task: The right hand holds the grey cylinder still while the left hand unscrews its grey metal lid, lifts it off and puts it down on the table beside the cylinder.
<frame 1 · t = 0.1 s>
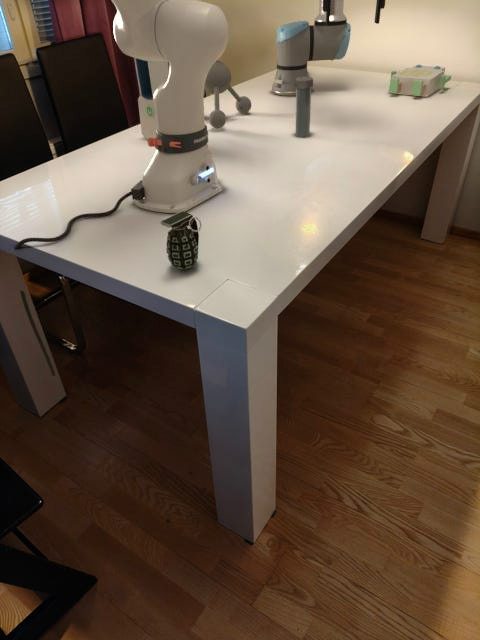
right hand: (352, 24, 135), 28 cm above the table, tool pointing down, fingers open, 13 cm apart
lid: (304, 79, 140), point 15 cm above the table, screwed on, not yet turned
decorative block: (416, 90, 184), on the table
grey cylinder: (302, 135, 149), on the table
grenade: (185, 266, 91), on the table
molecular model: (224, 118, 167), on the table
electronic device: (163, 138, 153), on the table
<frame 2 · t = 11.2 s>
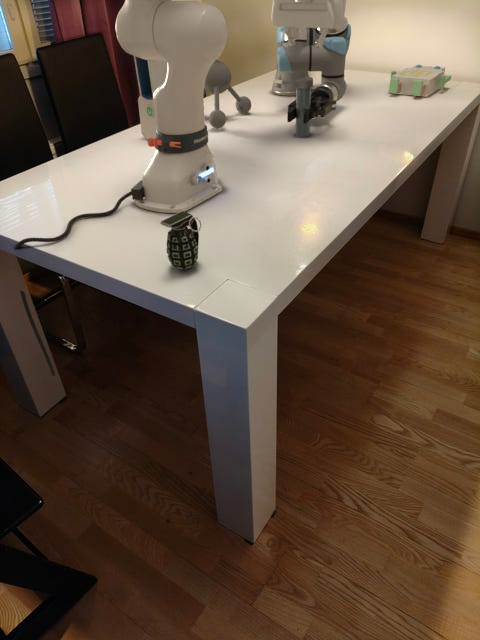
left hand: (305, 46, 134), 24 cm above the table, tool pointing down, fingers open, 7 cm apart
right hand: (296, 118, 141), 6 cm above the table, tool horizontal, fingers closed on grey cylinder, 4 cm apart
grey cylinder: (302, 135, 149), on the table, touching right hand
everything else where it was.
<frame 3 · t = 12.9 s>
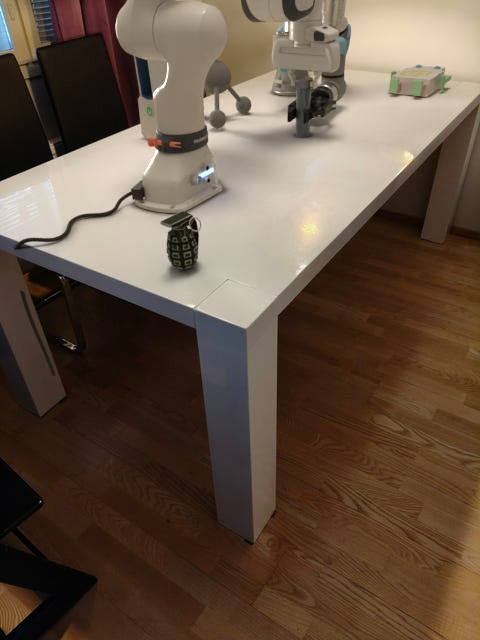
left hand: (303, 86, 141), 14 cm above the table, tool pointing down, fingers closed on lid, 5 cm apart
right hand: (296, 118, 141), 6 cm above the table, tool horizontal, fingers closed on grey cylinder, 4 cm apart
lid: (304, 79, 140), point 15 cm above the table, screwed on, not yet turned, touching left hand
grey cylinder: (302, 135, 149), on the table, touching right hand
everything else where it was.
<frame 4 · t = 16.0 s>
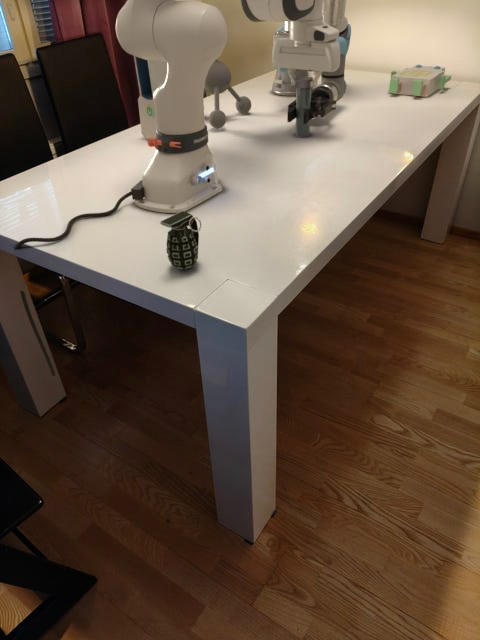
left hand: (304, 86, 141), 14 cm above the table, tool pointing down, fingers closed on lid, 5 cm apart
right hand: (296, 118, 141), 6 cm above the table, tool horizontal, fingers closed on grey cylinder, 4 cm apart
lid: (304, 79, 139), point 16 cm above the table, turned 78° so far, risen 0.1 cm, still on its thread, touching left hand
grey cylinder: (302, 135, 149), on the table, touching right hand
everything else where it was.
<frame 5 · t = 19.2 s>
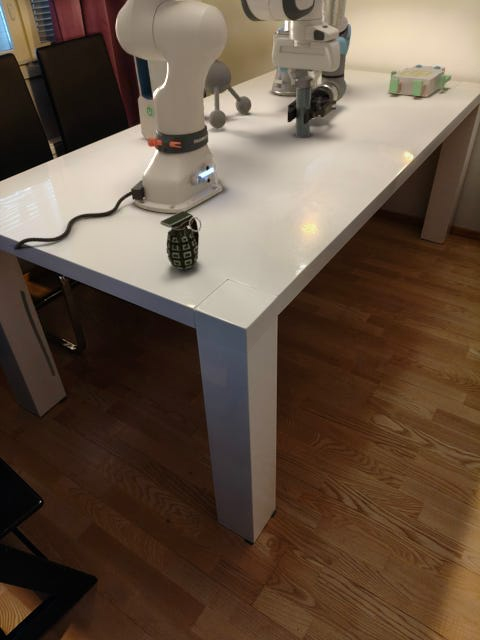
left hand: (304, 86, 141), 14 cm above the table, tool pointing down, fingers closed on lid, 5 cm apart
right hand: (296, 118, 141), 6 cm above the table, tool horizontal, fingers closed on grey cylinder, 4 cm apart
lid: (304, 79, 139), point 16 cm above the table, turned 155° so far, risen 0.2 cm, still on its thread, touching left hand
grey cylinder: (302, 135, 149), on the table, touching right hand
everything else where it was.
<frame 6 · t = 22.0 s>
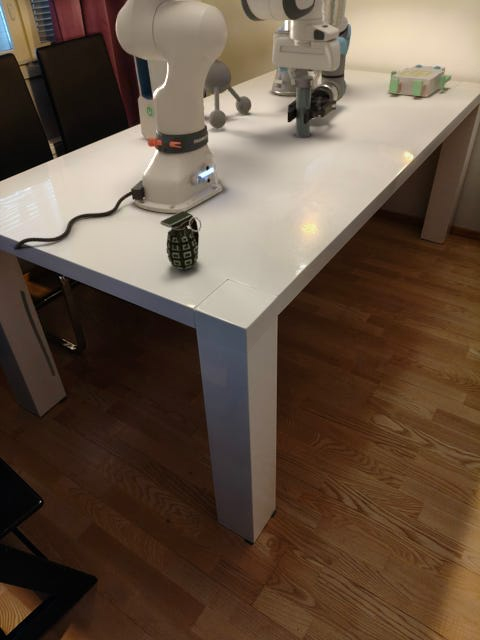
left hand: (304, 85, 140), 14 cm above the table, tool pointing down, fingers closed on lid, 5 cm apart
right hand: (296, 118, 141), 6 cm above the table, tool horizontal, fingers closed on grey cylinder, 4 cm apart
lid: (304, 78, 139), point 16 cm above the table, turned 233° so far, risen 0.3 cm, still on its thread, touching left hand
grey cylinder: (302, 135, 149), on the table, touching right hand
everything else where it was.
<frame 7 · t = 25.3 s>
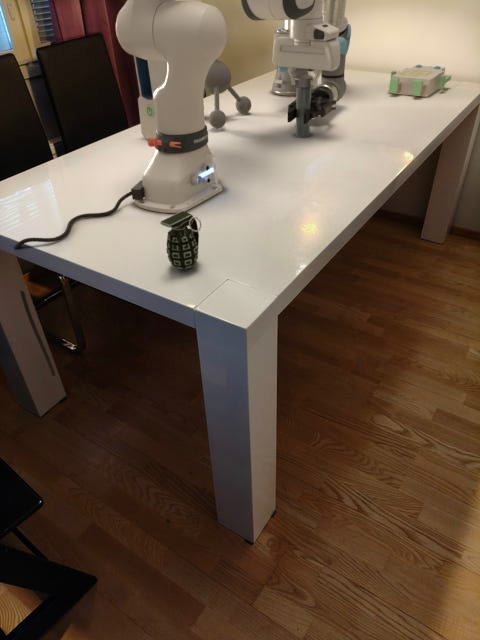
left hand: (304, 85, 140), 14 cm above the table, tool pointing down, fingers closed on lid, 5 cm apart
right hand: (296, 118, 141), 6 cm above the table, tool horizontal, fingers closed on grey cylinder, 4 cm apart
lid: (304, 78, 139), point 16 cm above the table, turned 310° so far, risen 0.4 cm, still on its thread, touching left hand
grey cylinder: (302, 135, 149), on the table, touching right hand
everything else where it was.
when the left hand's fingers open (2 cm above the table, at t = 30.7 s): lid drops 2 cm, point 2 cm above the table.
when the right hand's fingers open (6 cm above the table, at t = 31.6 s): grey cylinder stays where it is, on the table.
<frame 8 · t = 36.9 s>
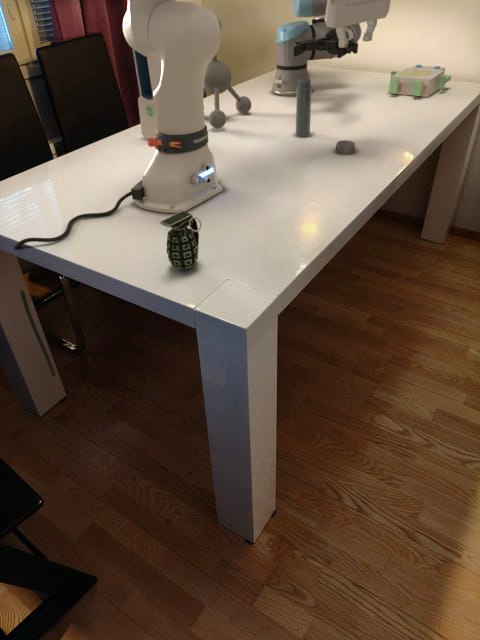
left hand: (355, 44, 120), 26 cm above the table, tool pointing down, fingers open, 8 cm apart
right hand: (316, 52, 143), 21 cm above the table, tool horizontal, fingers open, 13 cm apart
lid: (345, 144, 135), point 2 cm above the table, off its thread
grey cylinder: (302, 135, 149), on the table
everything else where it was.
at the end: lid came off its thread; lid point 1.8 cm above the table; the left hand is holding nothing; the right hand is holding nothing; grey cylinder tilted 0°; grey cylinder moved 0.1 cm from its start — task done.
